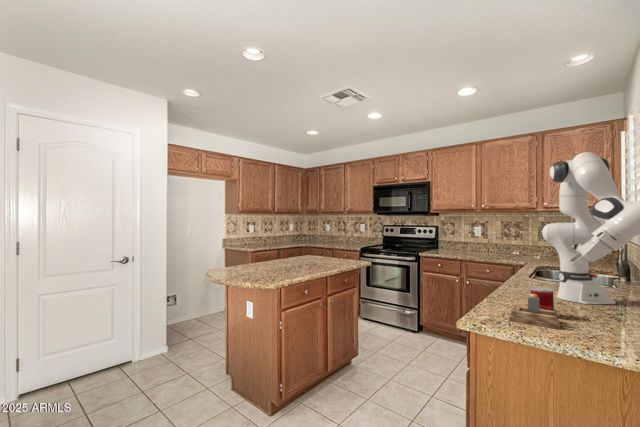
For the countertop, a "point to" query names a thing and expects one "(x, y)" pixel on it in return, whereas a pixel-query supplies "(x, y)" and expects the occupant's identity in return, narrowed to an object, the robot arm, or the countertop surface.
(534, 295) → the block with orange ball
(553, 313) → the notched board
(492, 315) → the countertop surface
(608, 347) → the countertop surface
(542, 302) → the canned food
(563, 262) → the robot arm
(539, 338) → the countertop surface
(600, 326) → the countertop surface
